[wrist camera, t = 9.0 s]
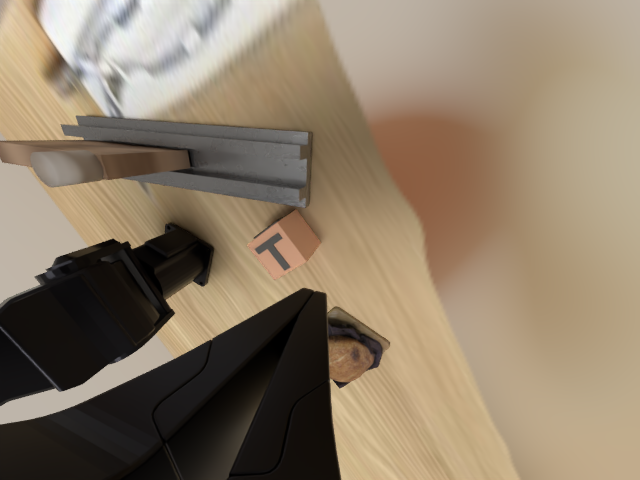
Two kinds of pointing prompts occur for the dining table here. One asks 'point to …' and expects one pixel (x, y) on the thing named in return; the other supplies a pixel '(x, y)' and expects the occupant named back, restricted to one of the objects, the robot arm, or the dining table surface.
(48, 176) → the screen
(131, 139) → the track
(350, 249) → the dining table surface
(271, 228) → the lettered cube
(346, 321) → the bread roll
